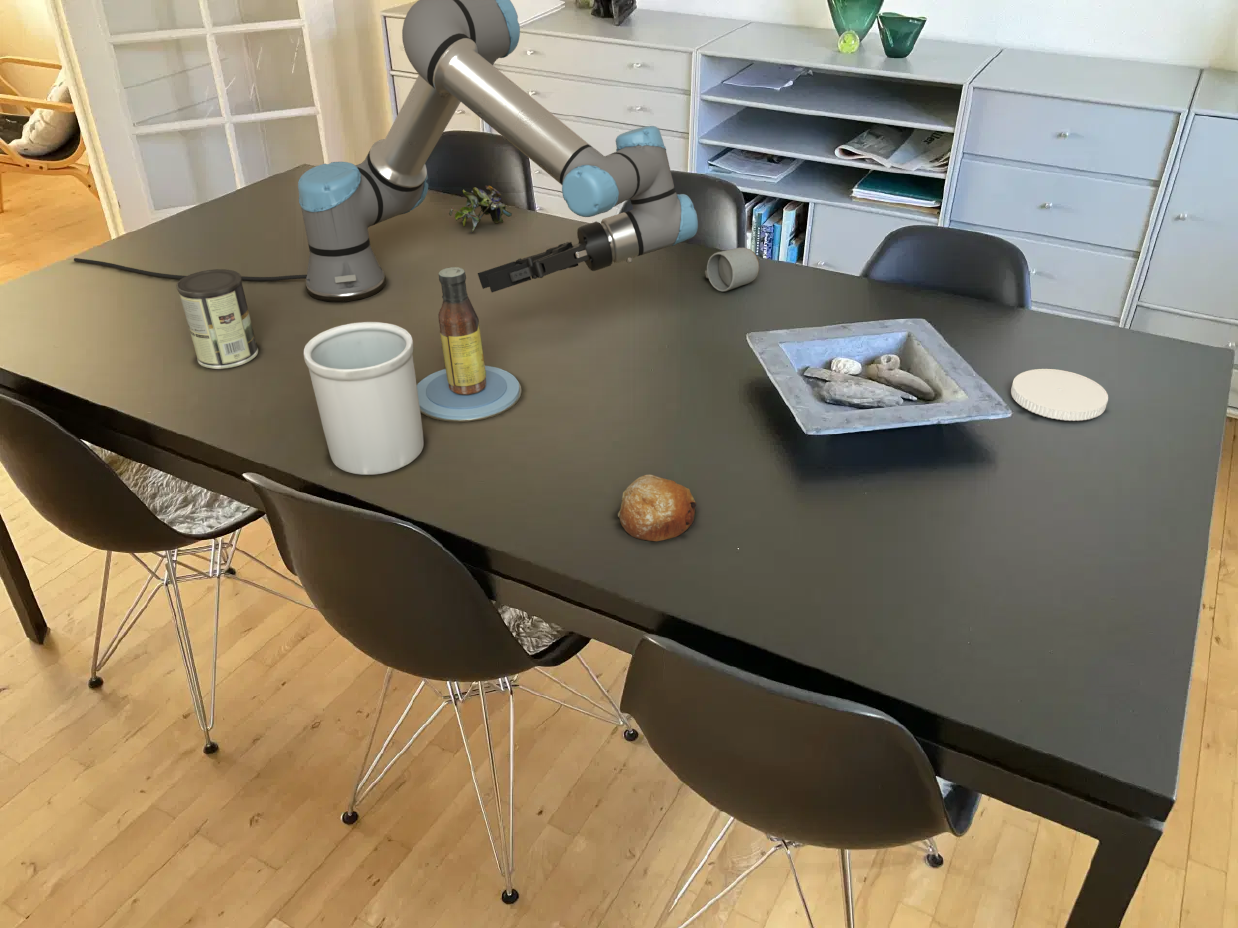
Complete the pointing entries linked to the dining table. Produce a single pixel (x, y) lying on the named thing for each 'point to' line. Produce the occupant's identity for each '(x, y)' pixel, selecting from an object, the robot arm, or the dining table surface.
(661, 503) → the bread roll
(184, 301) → the coffee can
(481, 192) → the passion flower
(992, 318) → the dining table surface
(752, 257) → the ceramic mug
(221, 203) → the dining table surface
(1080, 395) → the plastic lid
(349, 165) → the robot arm
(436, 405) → the blue plate
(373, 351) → the utensil holder
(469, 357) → the sauce bottle
